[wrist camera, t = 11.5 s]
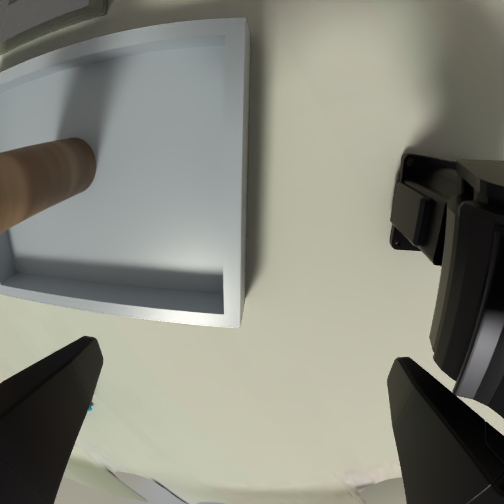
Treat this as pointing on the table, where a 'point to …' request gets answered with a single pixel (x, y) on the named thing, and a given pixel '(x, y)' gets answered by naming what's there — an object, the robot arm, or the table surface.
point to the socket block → (42, 18)
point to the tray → (138, 173)
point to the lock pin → (42, 177)
